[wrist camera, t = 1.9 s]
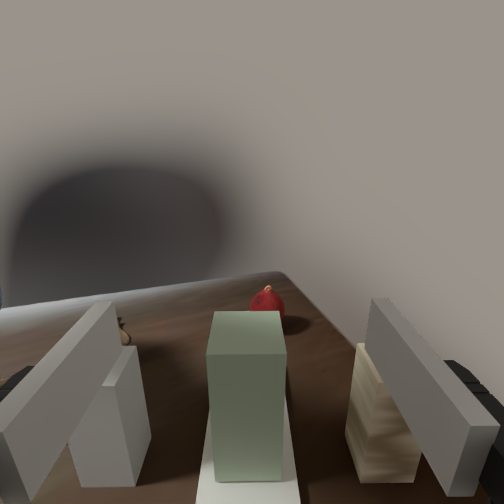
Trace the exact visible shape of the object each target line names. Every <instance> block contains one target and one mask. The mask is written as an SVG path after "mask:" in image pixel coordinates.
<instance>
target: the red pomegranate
mask: <svg viewBox="0 0 504 504" xmlns="http://www.w3.org/2000/svg"><path fill="white" fill-rule="evenodd" d="M250 311H279V313H280V319H282V318H283V316H284V313H285V308H284V303H283V301H282V299H281V298H280V296H279V295H278V294H277V293H275V292H274V291H272V287H271V286H266V287H265V288H264V289H263V290H262V291H260V292H258V293H257V294H256V295H255V296H254V297H253V299H252V301H251V304H250Z"/></svg>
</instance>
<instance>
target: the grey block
mask: <svg viewBox="0 0 504 504" xmlns="http://www.w3.org/2000/svg"><path fill="white" fill-rule="evenodd" d="M122 349H123V351H122V353H121V354H120V356H119V358H118V359H117V361H116V363H115V364H114V366H113V368H112V369H111V371H110V373H109V374H108V376H107V378H106V379H105V381H104V383H103V384H102V386H101V387H100V389H99V391H98V392H97V394H96V396H95V397H94V399H93V401H92V402H91V404H90V406H89V407H88V409H87V411H86V412H85V414H84V416H83V417H82V419H81V421H80V422H79V424H78V426H77V427H76V429H75V431H74V432H73V434H72V436H71V437H70V439H69V440H68V445H69V448H70V451H71V455H72V458H73V461H74V465H75V468H76V471H77V475H78V478H79V481H80V484H81V487H135V486H136V483H137V480H138V477H139V474H140V471H141V468H142V465H143V462H144V459H145V456H146V452H147V449H148V446H149V443H150V440H151V431H150V425H149V419H148V413H147V407H146V401H145V395H144V389H143V383H142V377H141V371H140V365H139V359H138V353H137V347H136V346H122Z"/></svg>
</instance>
